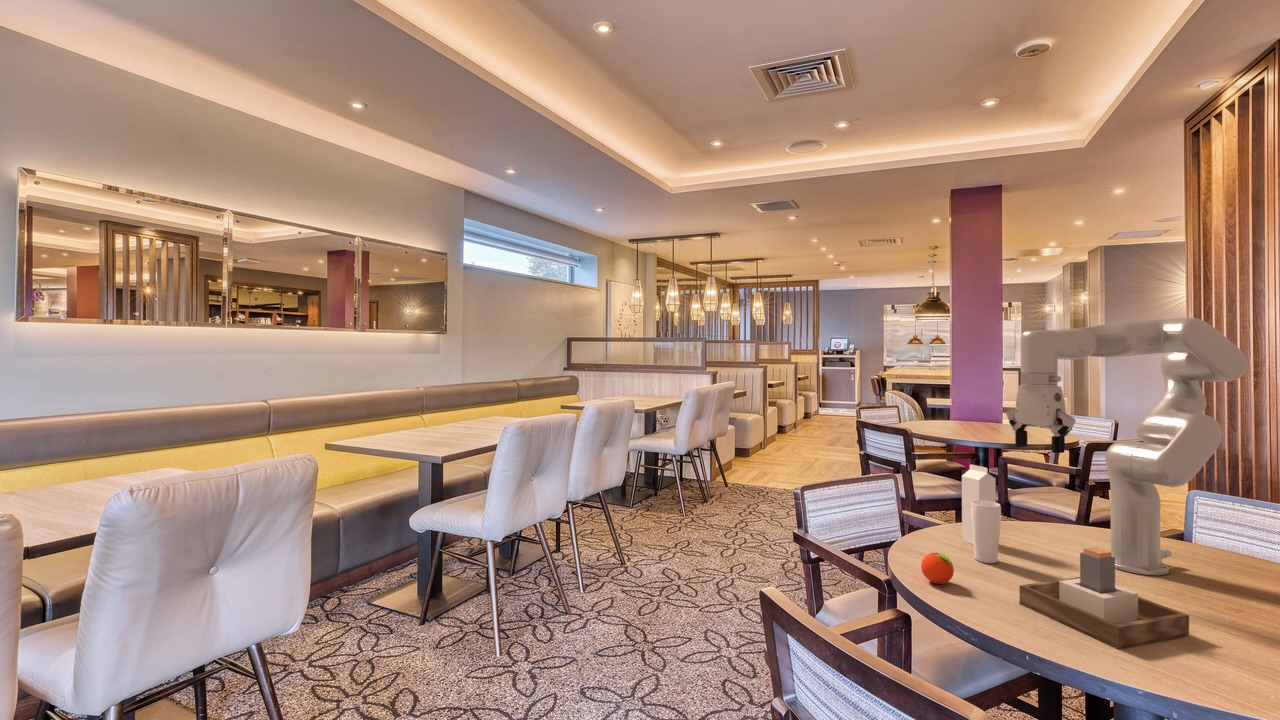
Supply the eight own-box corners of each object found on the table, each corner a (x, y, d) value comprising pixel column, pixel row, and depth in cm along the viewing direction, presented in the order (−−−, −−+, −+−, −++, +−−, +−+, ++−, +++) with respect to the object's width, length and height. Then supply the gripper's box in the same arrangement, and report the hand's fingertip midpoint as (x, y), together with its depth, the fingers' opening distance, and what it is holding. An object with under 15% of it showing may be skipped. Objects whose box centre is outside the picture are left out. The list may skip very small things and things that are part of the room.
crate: (1083, 594, 128) (1083, 576, 128) (1189, 636, 109) (1189, 615, 109) (1019, 603, 124) (1019, 585, 124) (1118, 649, 104) (1118, 627, 104)
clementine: (965, 587, 133) (964, 556, 133) (943, 592, 130) (943, 561, 130) (935, 575, 140) (935, 546, 140) (914, 579, 137) (914, 550, 137)
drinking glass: (1005, 566, 146) (1005, 507, 146) (976, 564, 147) (976, 506, 147) (994, 556, 152) (994, 500, 152) (967, 555, 154) (966, 499, 154)
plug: (1095, 598, 120) (1094, 546, 120) (1115, 606, 116) (1115, 552, 116) (1080, 600, 119) (1080, 547, 119) (1100, 608, 115) (1099, 554, 115)
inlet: (1091, 601, 123) (1091, 576, 123) (1137, 620, 114) (1137, 593, 114) (1059, 606, 121) (1059, 581, 121) (1103, 626, 112) (1103, 598, 112)
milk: (979, 547, 160) (978, 468, 160) (961, 540, 166) (961, 464, 166) (996, 545, 162) (996, 467, 162) (978, 538, 168) (977, 463, 168)
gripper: (1085, 381, 134) (1086, 454, 134) (1019, 378, 151) (1019, 443, 151) (1061, 382, 132) (1061, 456, 132) (996, 379, 149) (996, 445, 149)
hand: (1039, 449), depth 142 cm, fingers open, 9 cm apart
